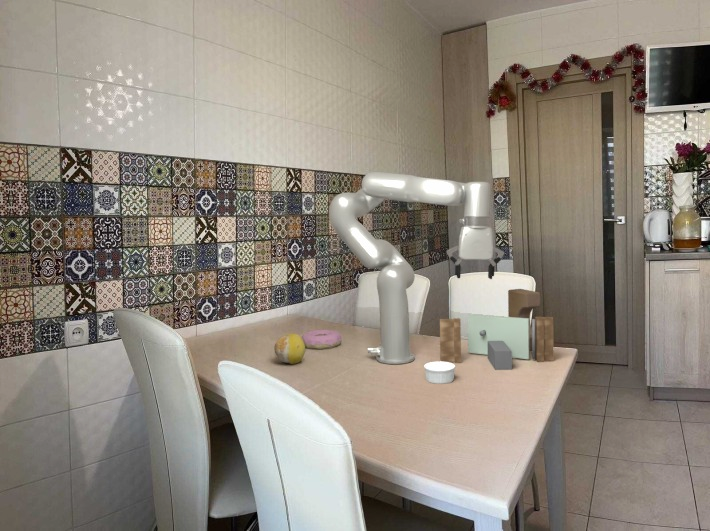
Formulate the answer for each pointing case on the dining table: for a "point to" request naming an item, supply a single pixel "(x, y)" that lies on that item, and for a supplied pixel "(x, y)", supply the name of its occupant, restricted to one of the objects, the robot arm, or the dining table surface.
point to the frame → (452, 339)
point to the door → (500, 334)
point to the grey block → (499, 355)
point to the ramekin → (439, 372)
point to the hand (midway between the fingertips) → (474, 278)
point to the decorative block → (523, 306)
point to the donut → (321, 339)
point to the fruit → (290, 348)
